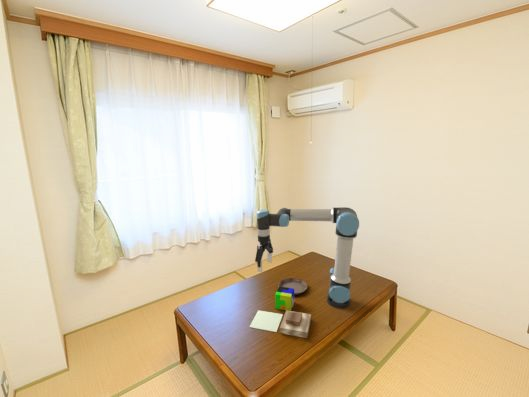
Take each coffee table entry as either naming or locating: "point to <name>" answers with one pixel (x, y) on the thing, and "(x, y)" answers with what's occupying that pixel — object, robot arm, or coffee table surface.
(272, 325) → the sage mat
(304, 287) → the plant saucer
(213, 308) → the coffee table surface
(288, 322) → the walnut tile
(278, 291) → the puzzle toy
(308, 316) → the plate
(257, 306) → the coffee table surface
